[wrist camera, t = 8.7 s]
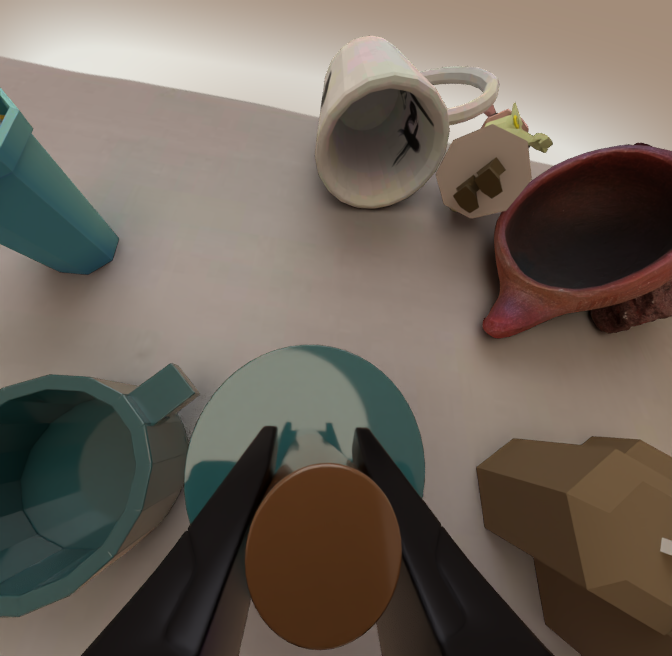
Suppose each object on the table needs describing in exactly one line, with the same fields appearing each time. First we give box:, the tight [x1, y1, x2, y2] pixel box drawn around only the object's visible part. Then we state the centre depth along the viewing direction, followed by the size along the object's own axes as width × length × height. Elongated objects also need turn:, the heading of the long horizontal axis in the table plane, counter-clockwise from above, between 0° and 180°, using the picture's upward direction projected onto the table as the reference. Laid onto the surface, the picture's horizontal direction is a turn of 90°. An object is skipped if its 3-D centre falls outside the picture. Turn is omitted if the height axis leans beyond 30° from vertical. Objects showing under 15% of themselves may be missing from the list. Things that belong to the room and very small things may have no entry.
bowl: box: [482, 143, 672, 338], centre depth 23 cm, size 16×13×8 cm
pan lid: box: [184, 345, 425, 650], centre depth 10 cm, size 11×11×11 cm
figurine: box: [436, 103, 553, 219], centre depth 26 cm, size 9×7×15 cm
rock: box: [591, 279, 672, 333], centre depth 26 cm, size 11×6×8 cm
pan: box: [0, 363, 200, 617], centre depth 17 cm, size 11×16×5 cm, turn 132°
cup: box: [0, 88, 119, 275], centre depth 17 cm, size 14×8×15 cm, turn 155°
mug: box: [315, 35, 500, 209], centre depth 25 cm, size 10×15×10 cm
